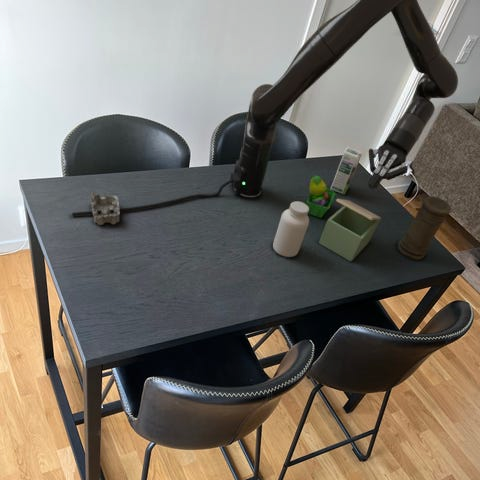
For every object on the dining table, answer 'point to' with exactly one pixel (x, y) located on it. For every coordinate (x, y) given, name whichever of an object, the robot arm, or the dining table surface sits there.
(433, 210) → the container
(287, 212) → the pill bottle
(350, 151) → the syrup box
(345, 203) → the lid
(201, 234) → the dining table surface
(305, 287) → the dining table surface
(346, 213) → the caddy
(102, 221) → the egg carton
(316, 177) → the fruit basket
